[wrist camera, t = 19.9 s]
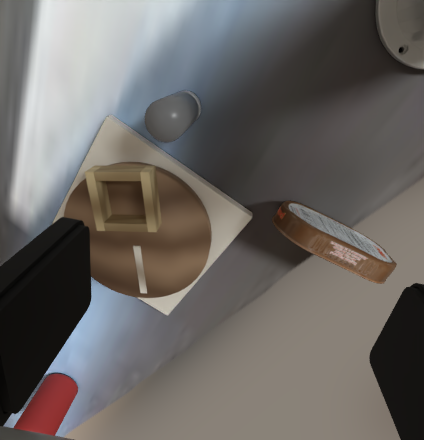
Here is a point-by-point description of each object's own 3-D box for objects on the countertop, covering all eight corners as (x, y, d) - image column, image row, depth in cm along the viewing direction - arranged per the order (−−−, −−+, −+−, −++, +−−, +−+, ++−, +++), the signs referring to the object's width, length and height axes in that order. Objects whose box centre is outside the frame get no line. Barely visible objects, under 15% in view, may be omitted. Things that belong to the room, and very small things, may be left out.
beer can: (85, 383, 61) (50, 452, 50) (70, 399, 63) (33, 467, 53) (55, 366, 59) (12, 432, 49) (40, 382, 62) (-3, 449, 51)
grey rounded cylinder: (171, 88, 36) (145, 96, 27) (203, 92, 36) (187, 102, 27) (169, 121, 37) (144, 139, 29) (199, 125, 37) (183, 145, 28)
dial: (55, 160, 39) (33, 171, 35) (209, 160, 37) (204, 172, 33) (87, 286, 48) (72, 306, 44) (213, 291, 45) (210, 314, 41)
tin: (268, 208, 41) (273, 241, 34) (281, 188, 40) (289, 217, 32) (368, 256, 43) (393, 298, 35) (383, 238, 41) (413, 277, 34)
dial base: (111, 114, 38) (105, 116, 36) (252, 212, 41) (252, 218, 40) (48, 236, 47) (42, 242, 45) (169, 308, 50) (167, 316, 49)
